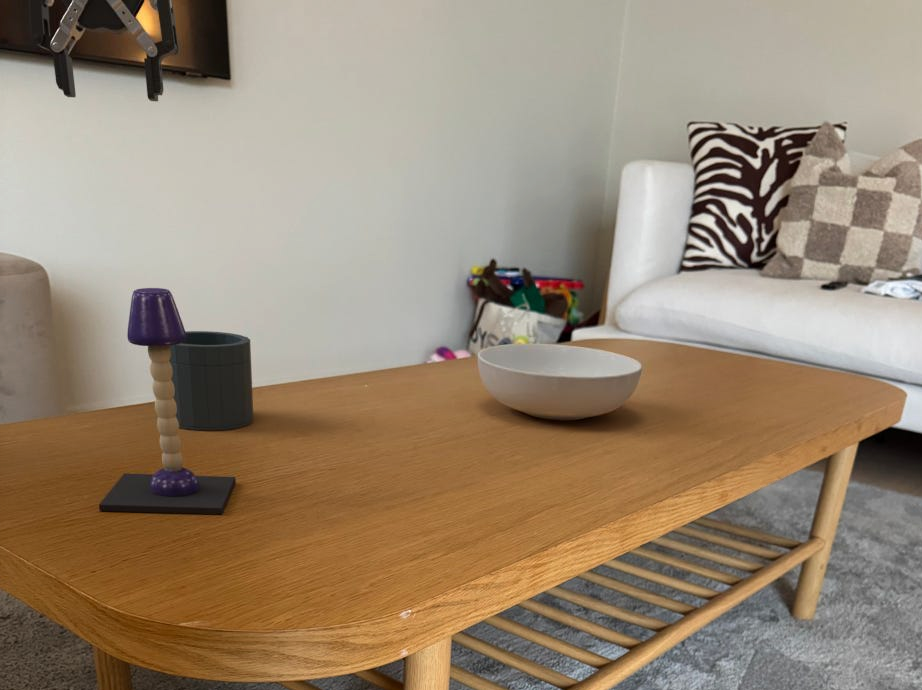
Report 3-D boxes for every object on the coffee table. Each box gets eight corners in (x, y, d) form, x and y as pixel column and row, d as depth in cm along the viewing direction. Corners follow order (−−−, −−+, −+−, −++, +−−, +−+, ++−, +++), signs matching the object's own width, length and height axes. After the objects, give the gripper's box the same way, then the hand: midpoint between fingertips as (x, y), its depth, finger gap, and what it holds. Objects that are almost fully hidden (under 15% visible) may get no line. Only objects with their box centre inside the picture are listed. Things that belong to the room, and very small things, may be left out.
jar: (156, 428, 104) (148, 343, 100) (173, 408, 113) (166, 329, 109) (247, 432, 106) (243, 348, 102) (257, 411, 114) (254, 333, 110)
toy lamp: (160, 501, 81) (142, 294, 74) (132, 487, 84) (111, 287, 77) (209, 490, 85) (196, 291, 77) (180, 478, 87) (165, 284, 80)
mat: (99, 511, 80) (98, 504, 80) (124, 479, 88) (123, 473, 88) (221, 514, 81) (221, 508, 81) (235, 483, 89) (235, 476, 89)
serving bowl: (441, 403, 124) (443, 348, 121) (555, 389, 137) (559, 339, 134) (554, 440, 111) (560, 380, 108) (668, 421, 123) (677, 366, 120)
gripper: (5, -105, 91) (30, 89, 97) (159, -95, 93) (174, 96, 99) (30, -79, 98) (52, 101, 104) (173, -70, 100) (187, 106, 106)
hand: (111, 98), depth 101 cm, fingers open, 8 cm apart
